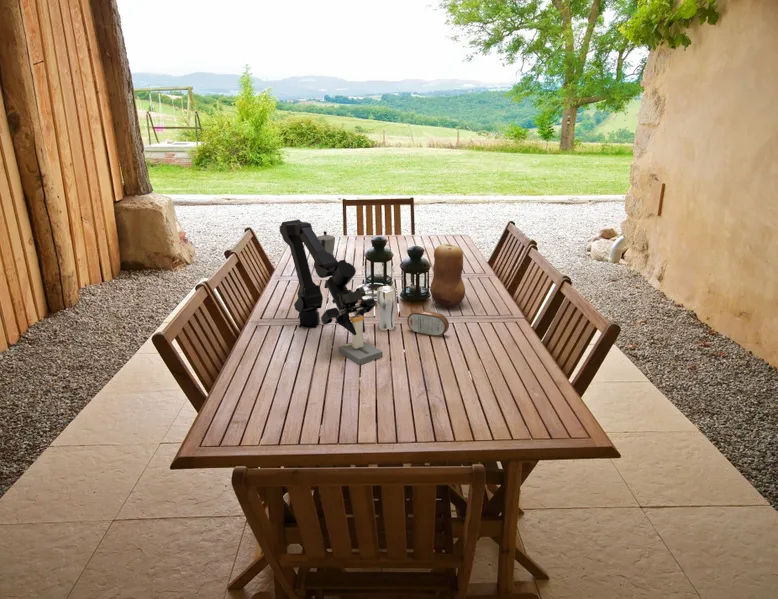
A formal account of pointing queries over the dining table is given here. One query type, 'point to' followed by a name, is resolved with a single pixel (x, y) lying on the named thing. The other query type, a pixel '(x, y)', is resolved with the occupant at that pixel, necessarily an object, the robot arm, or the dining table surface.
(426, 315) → the tin
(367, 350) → the switch plate
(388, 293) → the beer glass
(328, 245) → the coffeepot
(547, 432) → the dining table surface
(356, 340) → the lever
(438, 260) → the butternut squash
